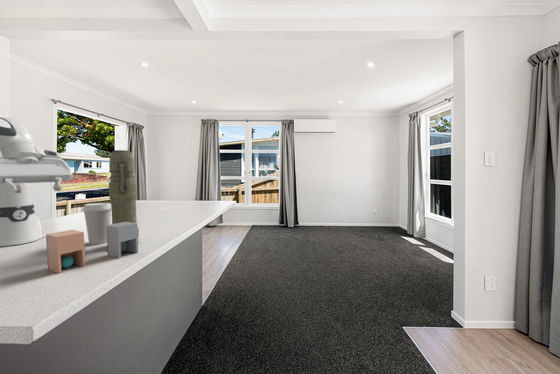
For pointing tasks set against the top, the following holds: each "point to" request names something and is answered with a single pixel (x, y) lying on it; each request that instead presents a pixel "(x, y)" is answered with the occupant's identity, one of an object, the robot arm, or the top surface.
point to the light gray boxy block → (122, 238)
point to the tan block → (65, 248)
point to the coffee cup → (97, 221)
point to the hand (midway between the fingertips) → (39, 190)
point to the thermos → (122, 187)
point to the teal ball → (67, 262)
